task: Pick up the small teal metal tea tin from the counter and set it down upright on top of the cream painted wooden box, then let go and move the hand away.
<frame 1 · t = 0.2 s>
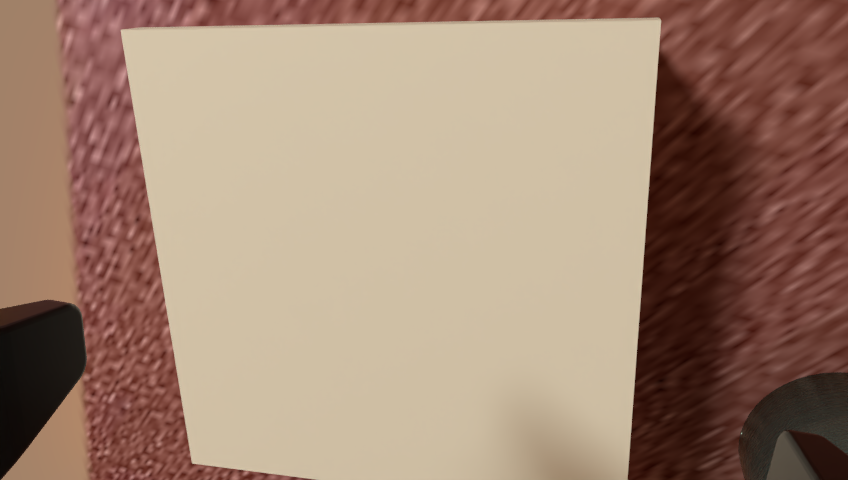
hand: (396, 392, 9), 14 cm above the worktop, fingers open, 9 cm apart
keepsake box: (425, 223, 24), on the worktop
tea tin: (833, 450, 23), on the worktop
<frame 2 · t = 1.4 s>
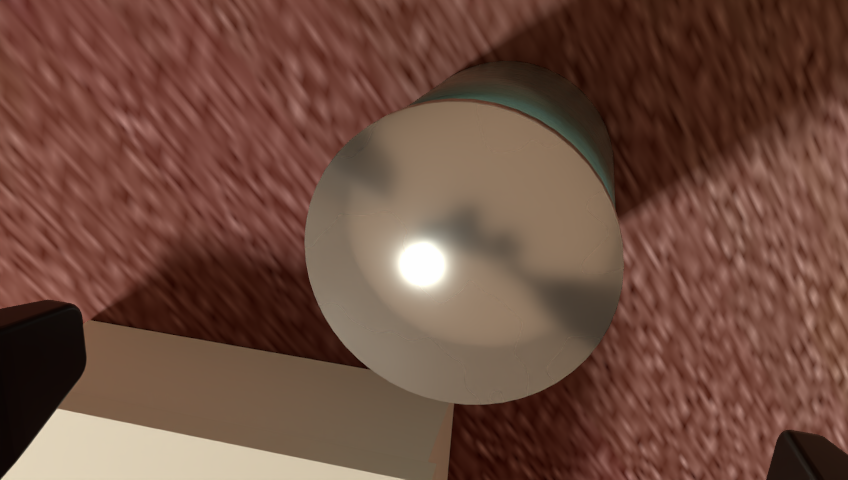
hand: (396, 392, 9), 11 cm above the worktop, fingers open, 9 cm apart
tea tin: (505, 168, 20), on the worktop
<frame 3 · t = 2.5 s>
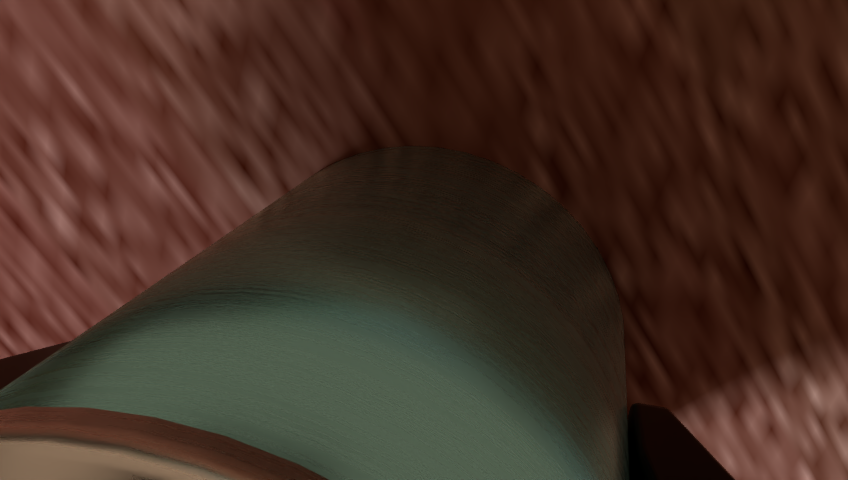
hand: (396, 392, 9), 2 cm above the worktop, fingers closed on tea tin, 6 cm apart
tea tin: (424, 336, 11), on the worktop, touching gripper
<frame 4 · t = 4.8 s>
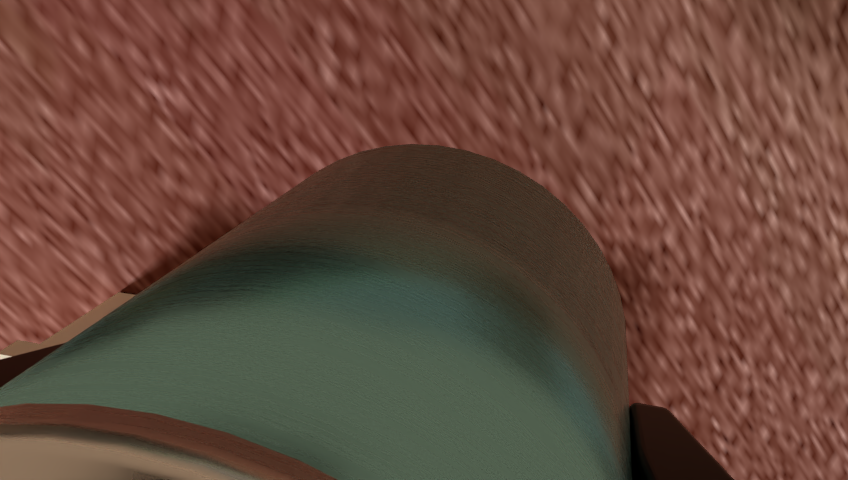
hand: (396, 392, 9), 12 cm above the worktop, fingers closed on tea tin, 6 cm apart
tea tin: (425, 335, 11), point 10 cm above the worktop, touching gripper
when the fingers open (8 cm above the worktop, at t = 6.7 s): tea tin drops 1 cm, resting on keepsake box.
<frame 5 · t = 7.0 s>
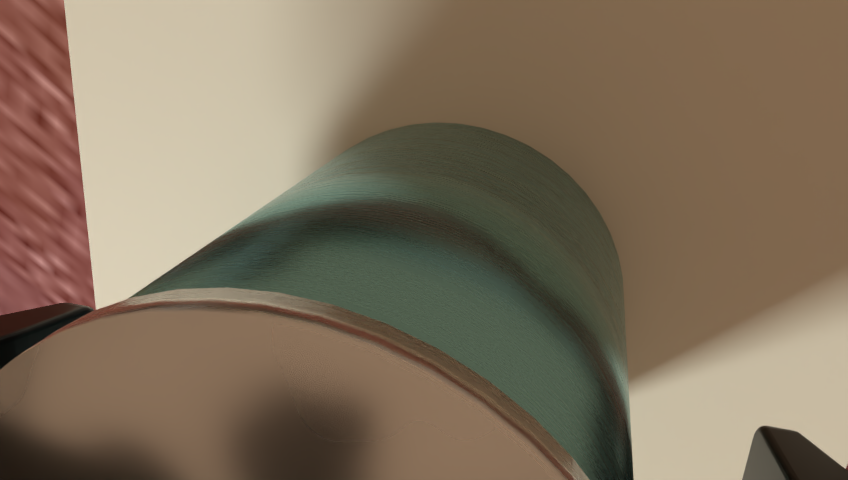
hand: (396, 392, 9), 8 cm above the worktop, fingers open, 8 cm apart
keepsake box: (488, 207, 17), on the worktop
tea tin: (445, 294, 12), point 5 cm above the worktop, touching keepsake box
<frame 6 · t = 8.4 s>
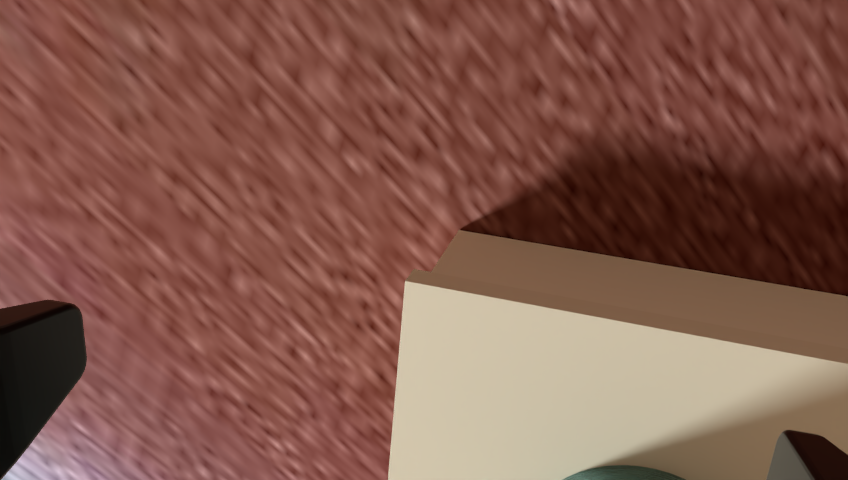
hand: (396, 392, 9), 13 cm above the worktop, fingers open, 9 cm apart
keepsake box: (629, 446, 23), on the worktop
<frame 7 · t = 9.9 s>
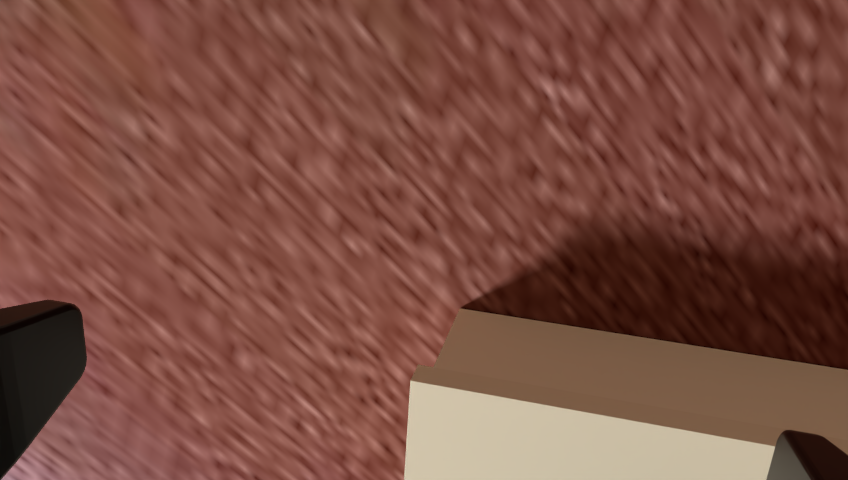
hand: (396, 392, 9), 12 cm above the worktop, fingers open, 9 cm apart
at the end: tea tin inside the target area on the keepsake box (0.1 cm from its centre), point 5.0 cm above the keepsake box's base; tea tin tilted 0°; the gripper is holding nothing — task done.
